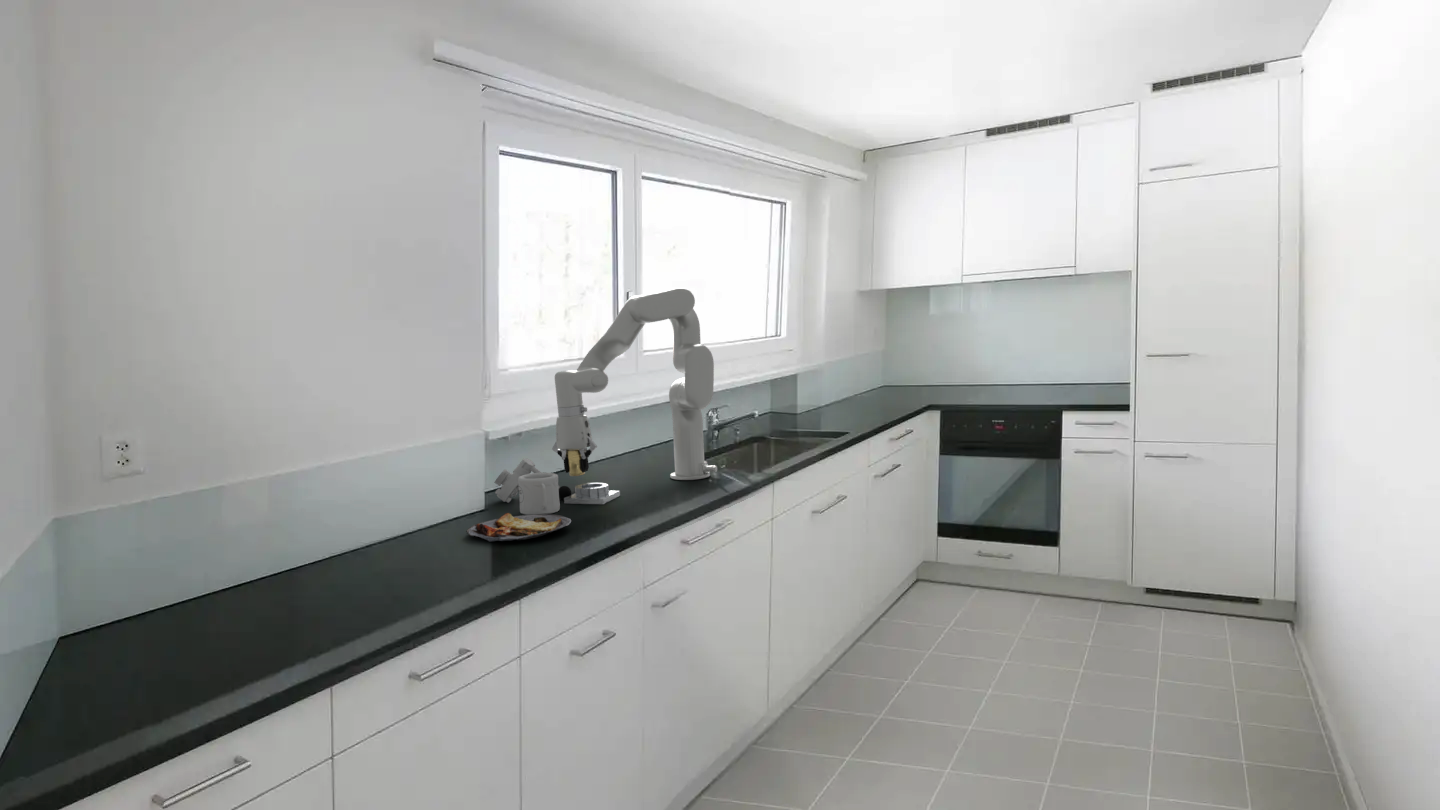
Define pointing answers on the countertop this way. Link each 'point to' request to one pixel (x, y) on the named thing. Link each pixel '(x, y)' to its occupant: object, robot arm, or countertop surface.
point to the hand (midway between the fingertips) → (576, 471)
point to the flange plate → (592, 500)
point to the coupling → (574, 463)
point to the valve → (511, 481)
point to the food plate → (518, 527)
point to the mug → (538, 493)
